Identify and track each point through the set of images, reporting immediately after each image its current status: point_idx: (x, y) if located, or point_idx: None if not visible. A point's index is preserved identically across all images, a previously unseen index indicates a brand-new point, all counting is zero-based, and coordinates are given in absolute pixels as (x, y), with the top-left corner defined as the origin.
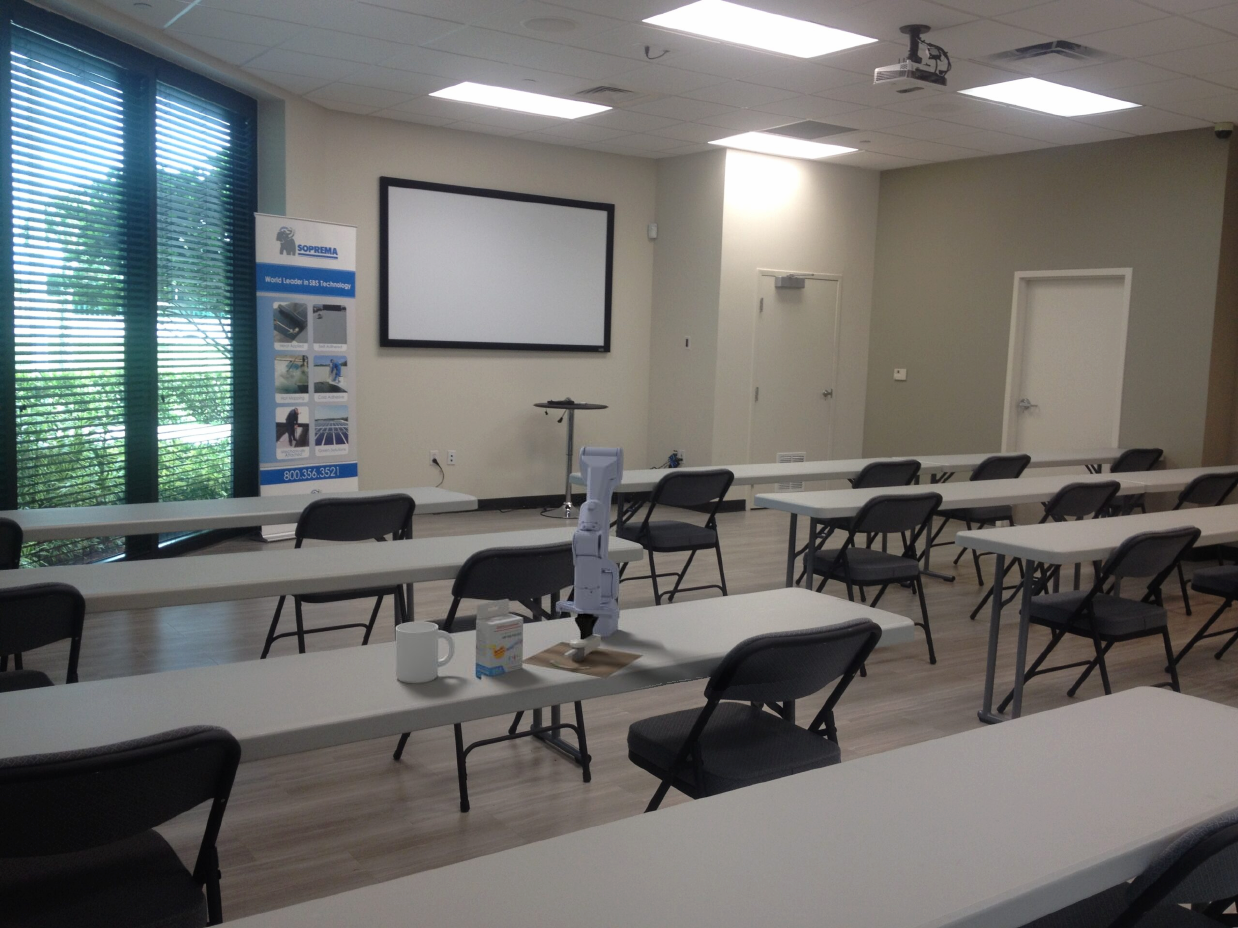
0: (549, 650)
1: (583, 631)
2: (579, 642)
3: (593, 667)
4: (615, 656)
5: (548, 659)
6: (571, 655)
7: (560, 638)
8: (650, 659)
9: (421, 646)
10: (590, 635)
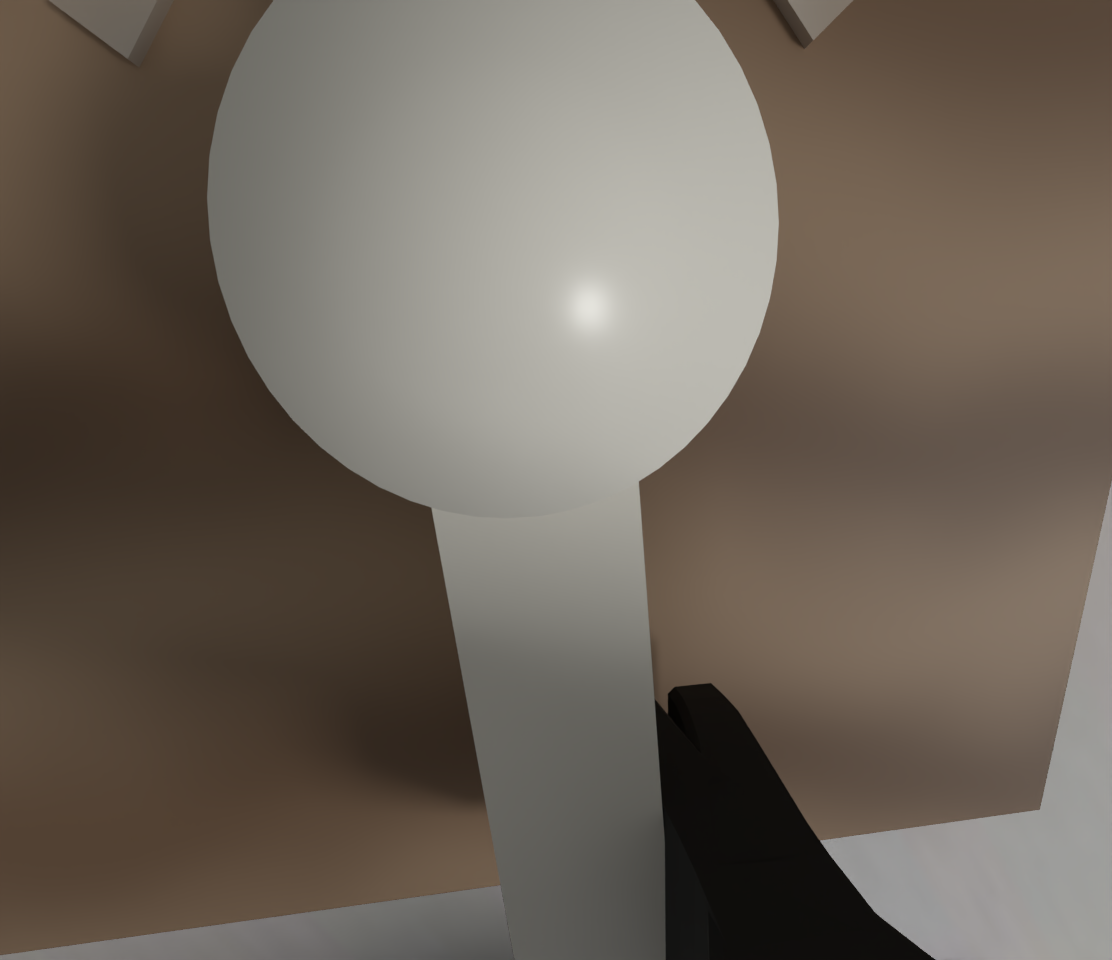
0: (1053, 479)
1: (772, 923)
2: (412, 166)
3: (88, 122)
4: (224, 745)
5: (914, 95)
6: (716, 464)
7: (1086, 930)
8: (36, 955)
9: None
10: (667, 952)
